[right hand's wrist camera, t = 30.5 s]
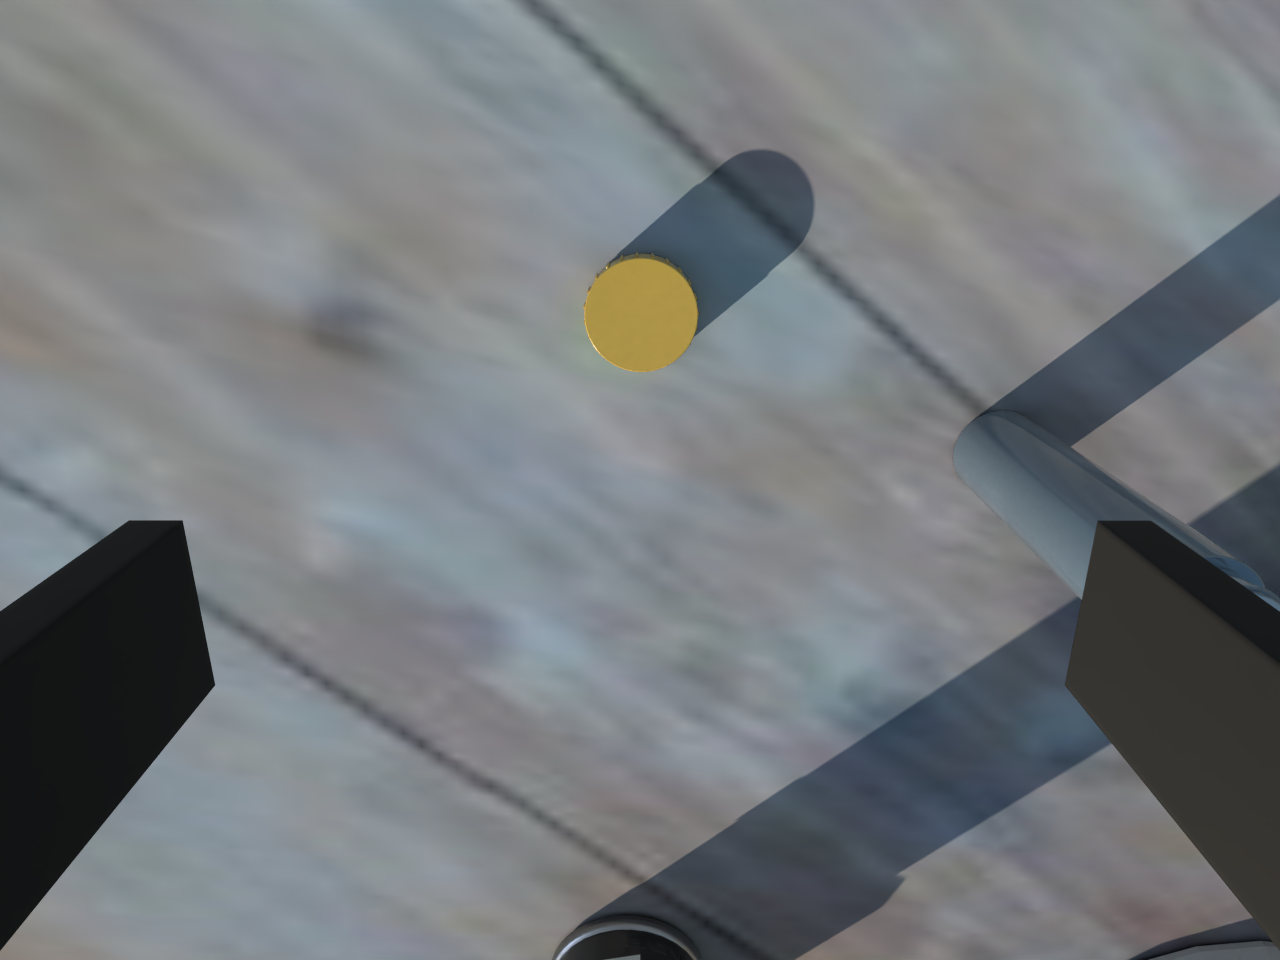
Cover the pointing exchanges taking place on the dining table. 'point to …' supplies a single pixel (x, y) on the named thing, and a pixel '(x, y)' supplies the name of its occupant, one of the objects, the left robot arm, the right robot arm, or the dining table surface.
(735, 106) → the dining table surface
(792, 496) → the dining table surface
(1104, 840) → the dining table surface
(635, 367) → the lid
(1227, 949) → the wall clock
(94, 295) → the dining table surface
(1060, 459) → the clear plastic cylinder
